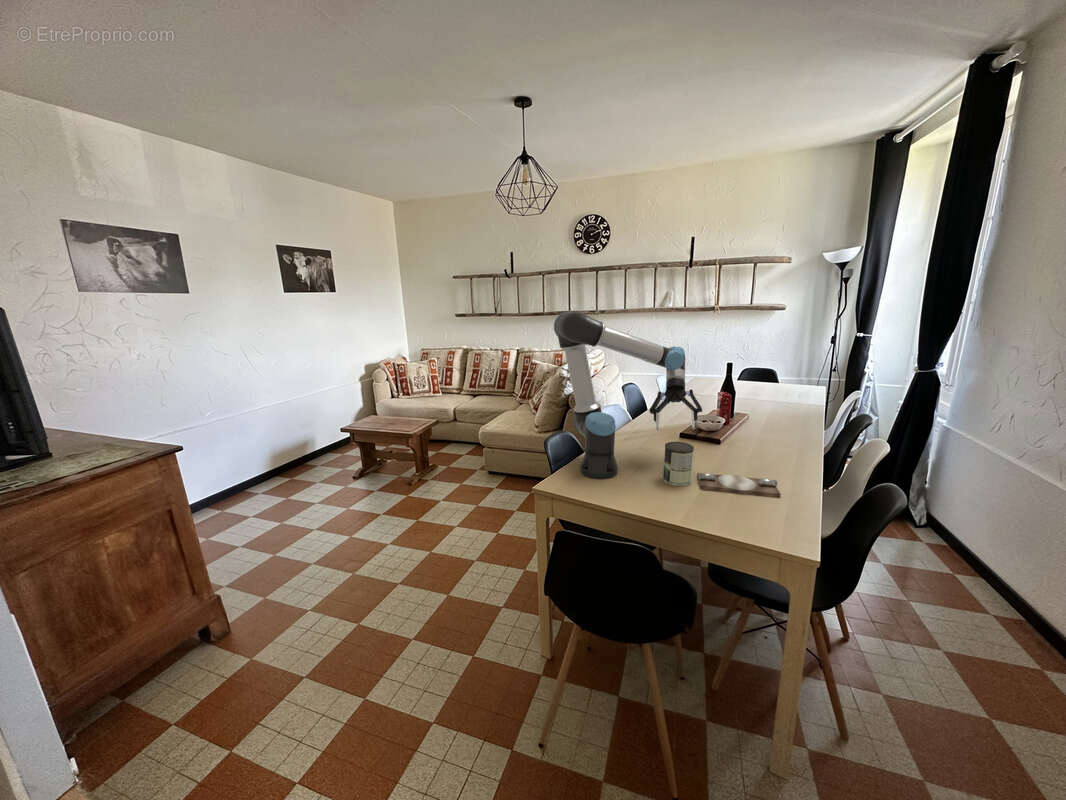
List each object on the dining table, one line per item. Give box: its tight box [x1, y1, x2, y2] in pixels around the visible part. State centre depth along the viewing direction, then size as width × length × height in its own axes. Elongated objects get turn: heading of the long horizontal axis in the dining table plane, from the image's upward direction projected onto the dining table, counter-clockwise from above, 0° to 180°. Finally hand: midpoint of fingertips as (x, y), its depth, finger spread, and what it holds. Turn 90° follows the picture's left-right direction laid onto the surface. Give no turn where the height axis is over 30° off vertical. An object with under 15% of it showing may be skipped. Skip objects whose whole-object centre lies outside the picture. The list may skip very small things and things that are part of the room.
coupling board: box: [696, 472, 781, 499], centre depth 152 cm, size 26×13×2 cm, turn 74°
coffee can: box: [662, 441, 695, 487], centre depth 156 cm, size 10×10×14 cm
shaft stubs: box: [698, 472, 778, 488], centre depth 152 cm, size 26×2×2 cm, turn 74°
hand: (675, 428), depth 163 cm, fingers open, 13 cm apart
